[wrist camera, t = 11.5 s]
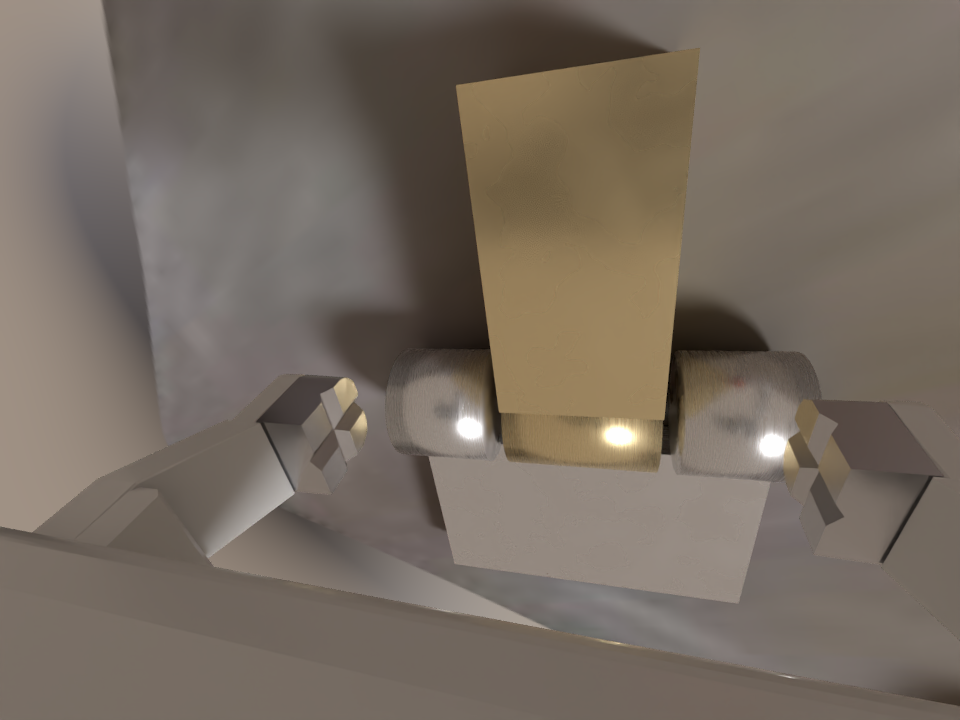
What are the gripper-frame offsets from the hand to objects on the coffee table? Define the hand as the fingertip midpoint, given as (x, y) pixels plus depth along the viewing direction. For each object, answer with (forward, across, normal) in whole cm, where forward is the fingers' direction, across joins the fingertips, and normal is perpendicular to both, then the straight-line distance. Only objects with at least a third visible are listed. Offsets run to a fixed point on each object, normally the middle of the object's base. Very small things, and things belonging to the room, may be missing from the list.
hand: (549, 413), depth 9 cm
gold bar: (+12, 0, +2) cm, 12 cm away
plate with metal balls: (+11, 0, +12) cm, 17 cm away
